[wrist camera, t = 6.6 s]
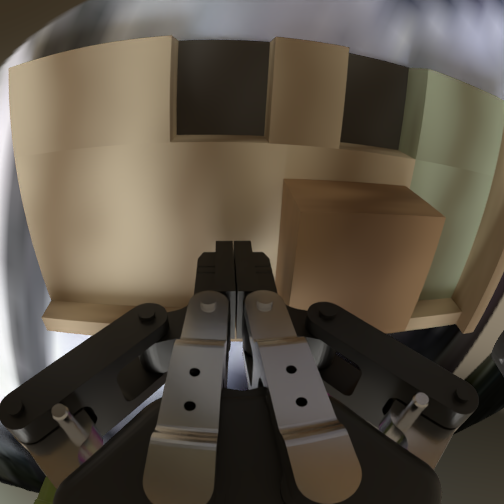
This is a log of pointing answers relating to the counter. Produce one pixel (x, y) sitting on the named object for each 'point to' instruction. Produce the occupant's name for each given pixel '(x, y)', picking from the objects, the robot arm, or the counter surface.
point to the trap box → (239, 164)
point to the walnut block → (356, 248)
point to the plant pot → (46, 493)
